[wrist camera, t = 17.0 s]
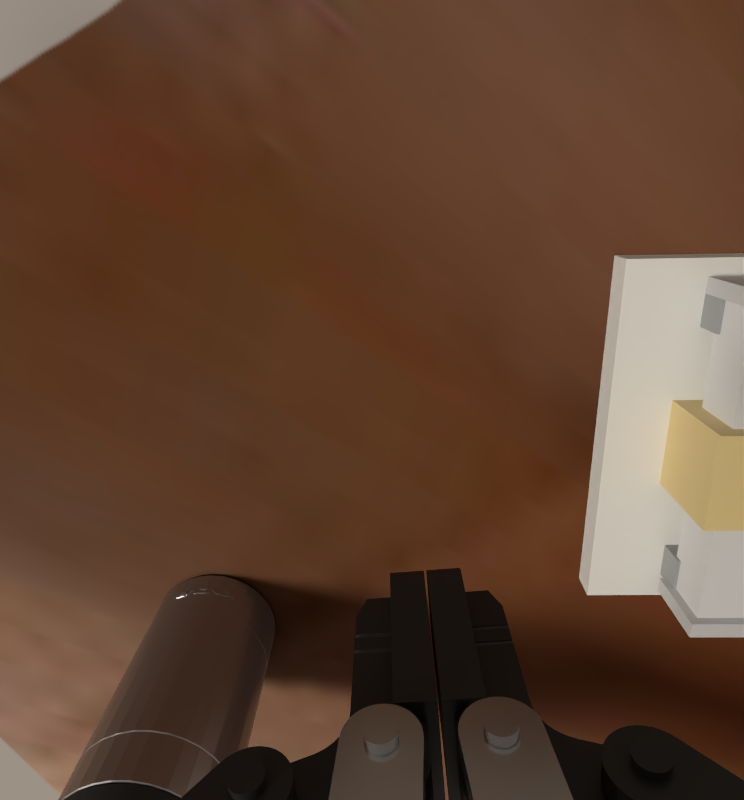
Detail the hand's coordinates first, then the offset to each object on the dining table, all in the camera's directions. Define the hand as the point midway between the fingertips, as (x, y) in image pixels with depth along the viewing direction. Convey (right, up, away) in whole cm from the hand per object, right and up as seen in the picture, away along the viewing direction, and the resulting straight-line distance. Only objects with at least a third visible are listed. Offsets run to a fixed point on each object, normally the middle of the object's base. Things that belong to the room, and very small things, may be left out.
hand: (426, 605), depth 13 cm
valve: (+21, +2, +29) cm, 36 cm away
